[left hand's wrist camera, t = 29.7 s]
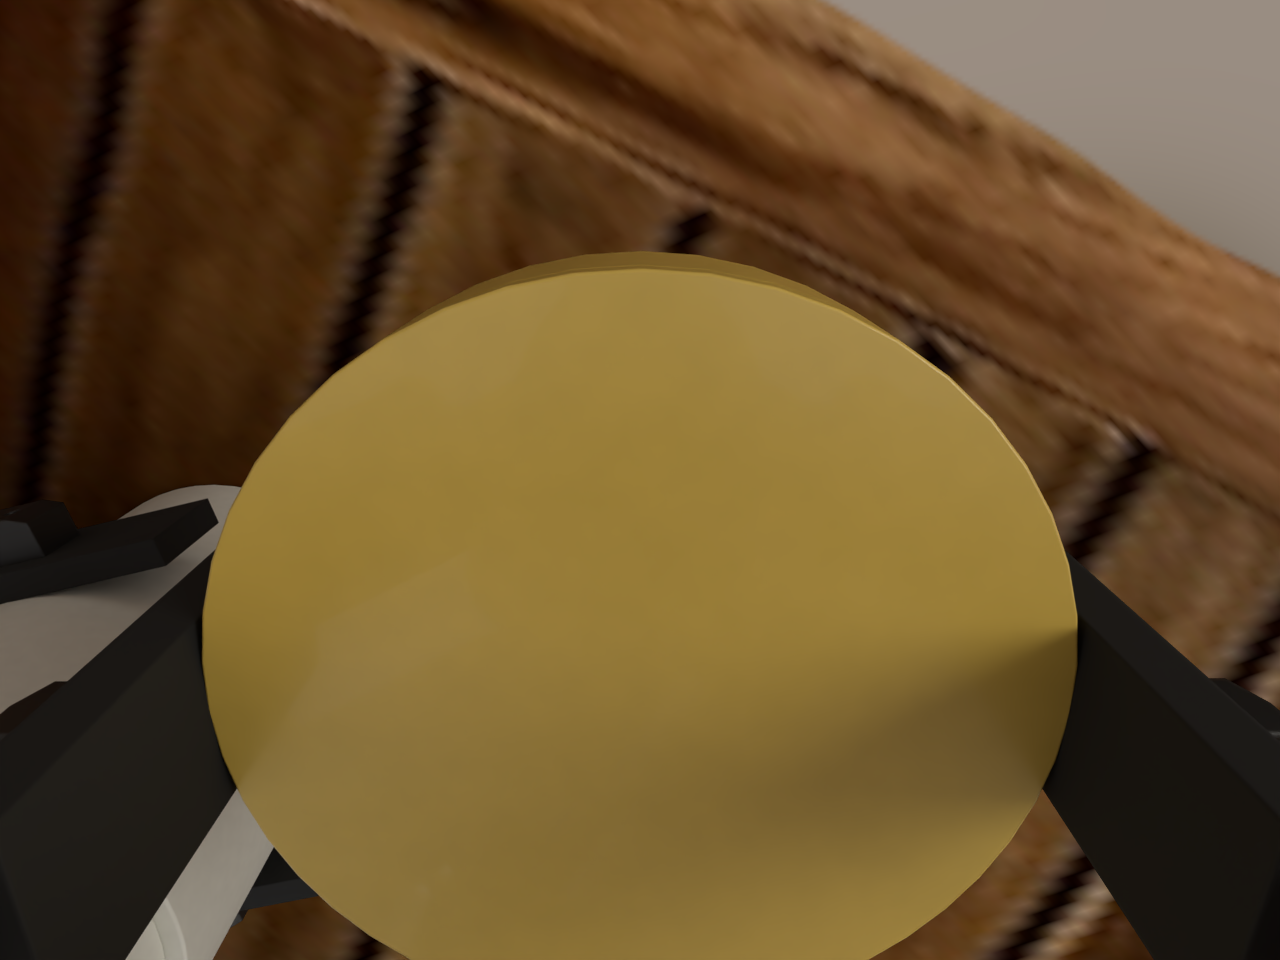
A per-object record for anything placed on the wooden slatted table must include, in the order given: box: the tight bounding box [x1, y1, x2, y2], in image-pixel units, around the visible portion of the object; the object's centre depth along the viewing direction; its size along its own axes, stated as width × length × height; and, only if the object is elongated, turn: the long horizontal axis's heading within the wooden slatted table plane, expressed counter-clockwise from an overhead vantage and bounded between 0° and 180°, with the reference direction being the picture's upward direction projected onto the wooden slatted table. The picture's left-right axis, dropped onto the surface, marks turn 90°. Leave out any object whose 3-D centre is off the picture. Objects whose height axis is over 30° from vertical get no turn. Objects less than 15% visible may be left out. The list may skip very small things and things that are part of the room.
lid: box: [202, 251, 1078, 960], centre depth 11 cm, size 11×11×2 cm
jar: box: [0, 485, 274, 960], centre depth 22 cm, size 10×10×15 cm
